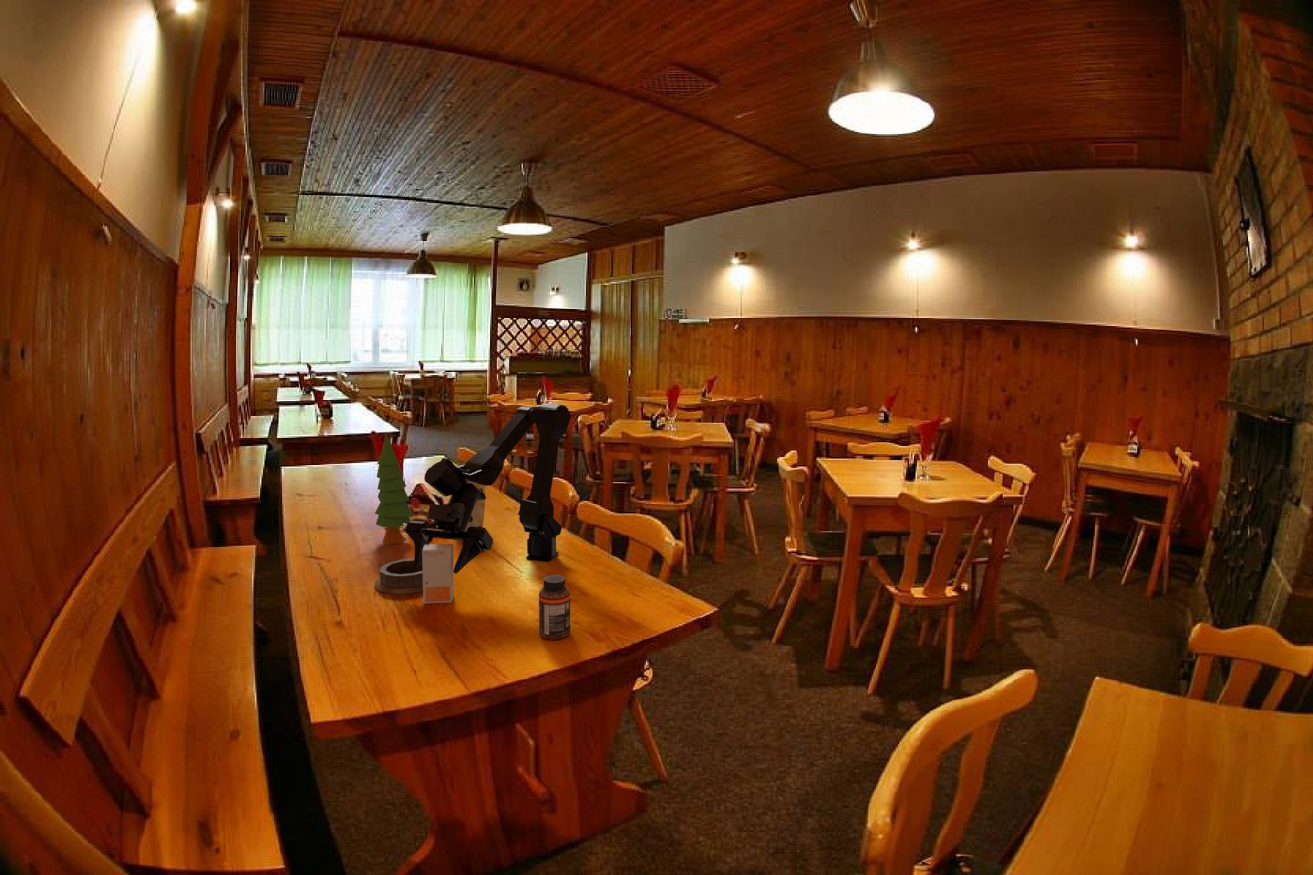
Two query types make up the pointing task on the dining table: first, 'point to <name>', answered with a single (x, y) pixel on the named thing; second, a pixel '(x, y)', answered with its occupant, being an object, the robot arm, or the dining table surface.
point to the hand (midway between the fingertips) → (435, 570)
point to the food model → (477, 510)
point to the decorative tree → (391, 496)
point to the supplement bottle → (554, 608)
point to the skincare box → (437, 573)
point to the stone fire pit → (400, 578)
